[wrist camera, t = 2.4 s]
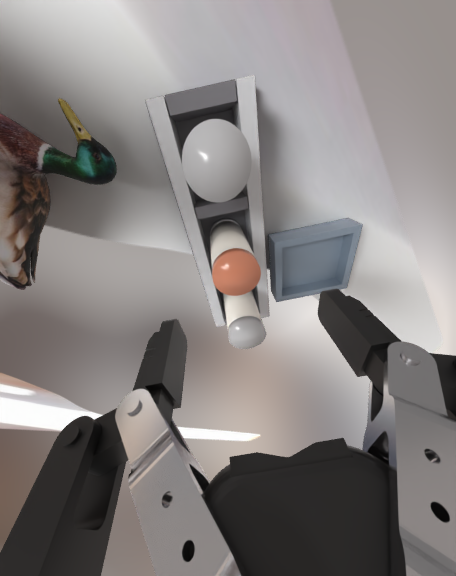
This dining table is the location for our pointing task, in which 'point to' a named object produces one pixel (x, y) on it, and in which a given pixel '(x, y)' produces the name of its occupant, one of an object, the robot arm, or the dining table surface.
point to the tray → (312, 258)
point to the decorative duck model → (38, 189)
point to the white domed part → (216, 160)
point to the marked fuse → (232, 259)
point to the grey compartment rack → (195, 210)
